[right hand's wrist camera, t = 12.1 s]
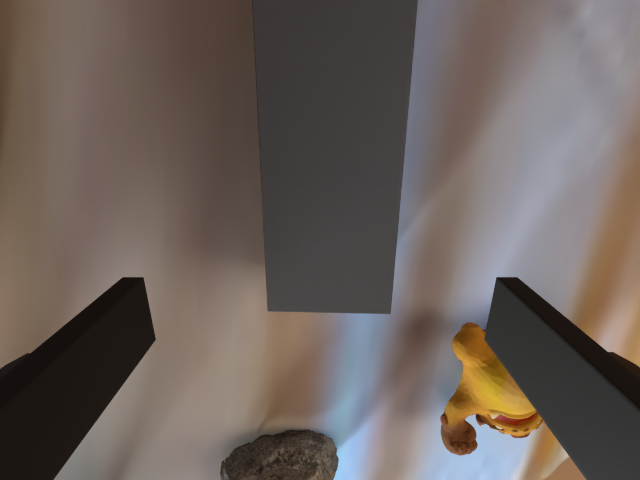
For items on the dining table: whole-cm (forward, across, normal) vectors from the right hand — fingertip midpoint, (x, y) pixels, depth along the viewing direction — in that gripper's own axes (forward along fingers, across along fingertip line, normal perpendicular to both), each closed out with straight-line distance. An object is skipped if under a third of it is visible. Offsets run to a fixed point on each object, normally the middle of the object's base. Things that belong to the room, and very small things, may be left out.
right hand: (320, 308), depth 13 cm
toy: (+16, -17, +16) cm, 28 cm away
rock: (+16, +5, +29) cm, 34 cm away
